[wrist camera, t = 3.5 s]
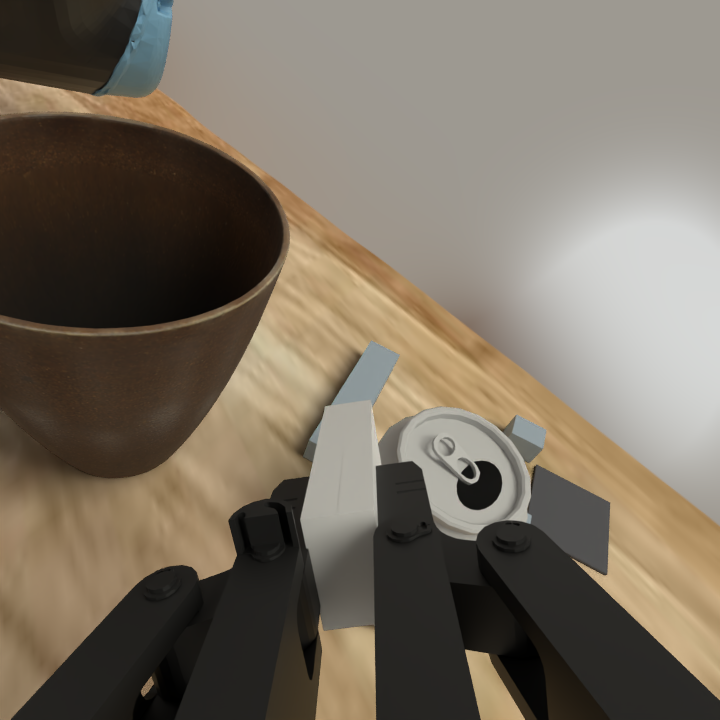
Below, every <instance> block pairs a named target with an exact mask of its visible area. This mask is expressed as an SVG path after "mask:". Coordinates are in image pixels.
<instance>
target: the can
mask: <svg viewBox="0 0 720 720" xmlns="http://www.w3.org/2000/svg"><path fill="white" fill-rule="evenodd" d="M378 447H379V453H380V459H381V465H386V464H393V463H400V462H407V461H413V462H414V463H415V464H417V465H418V466H419V467H420V468H422V471H423V476H424V481H425V485H426V490H427V494H428V498H429V502H430V507H431V511H432V516H433V520H434V523H435V525H436V527H437V528H438V529H439V530H440V531H441V532H443V533H445V534H446V535H448V536H451V537H454V538H458V539H464V540H474V541H476V539H477V534H478V533H479V532H480V531H481V530H482V529H483V528H484V527H485V526H487V525H490V524H492V523H494V522H499V521H506V520H512V521H513V520H514V521H522V522H527V519H528V516H527V507H528V504H529V501H530V499H531V485H530V476H529V473H528V470H527V468H526V465H525V462H524V459H523V458H522V456H521V455H520V453H519V452H518V450H517V448H516V447H515V445H514V444H513V442H512V441H511V440H510V439H509V438H508V437H507V436H506V435H505V434H504V433H503V432H502V431H501V430H500V429H499V428H497V427H496V426H495V425H493V424H492V423H490V422H489V421H487V420H485V419H484V418H482V417H481V416H479V415H477V414H474V413H471V412H468V411H465V410H463V409H460V408H451V407H436V408H431V409H426V410H423V411H421V412H420V413H418V414H416V415H415V416H411V417H406V418H404V419H402V420H401V421H399V422H398V423H396V424H395V425H393V426H391V427H390V428H389V429H388V430H387V432H386V433H385V434H384V436H383V437H382V439H381V440H380V442H379V443H378ZM374 626H375V624H374Z"/></svg>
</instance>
